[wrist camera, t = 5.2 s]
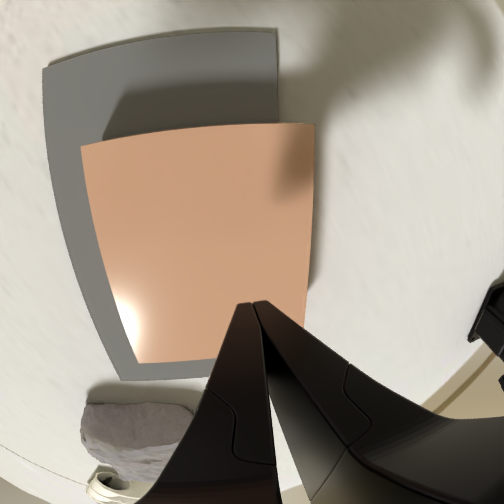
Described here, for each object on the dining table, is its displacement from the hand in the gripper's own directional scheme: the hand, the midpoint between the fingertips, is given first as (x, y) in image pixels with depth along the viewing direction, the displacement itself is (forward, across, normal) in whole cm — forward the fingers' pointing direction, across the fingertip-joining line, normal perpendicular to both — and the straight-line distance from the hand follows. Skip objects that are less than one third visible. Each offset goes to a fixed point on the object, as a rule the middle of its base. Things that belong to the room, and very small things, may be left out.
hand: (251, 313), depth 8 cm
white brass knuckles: (+6, +16, +37) cm, 41 cm away
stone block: (+6, +8, +18) cm, 21 cm away
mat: (+6, +3, 0) cm, 6 cm away
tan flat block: (+4, -3, 0) cm, 5 cm away
